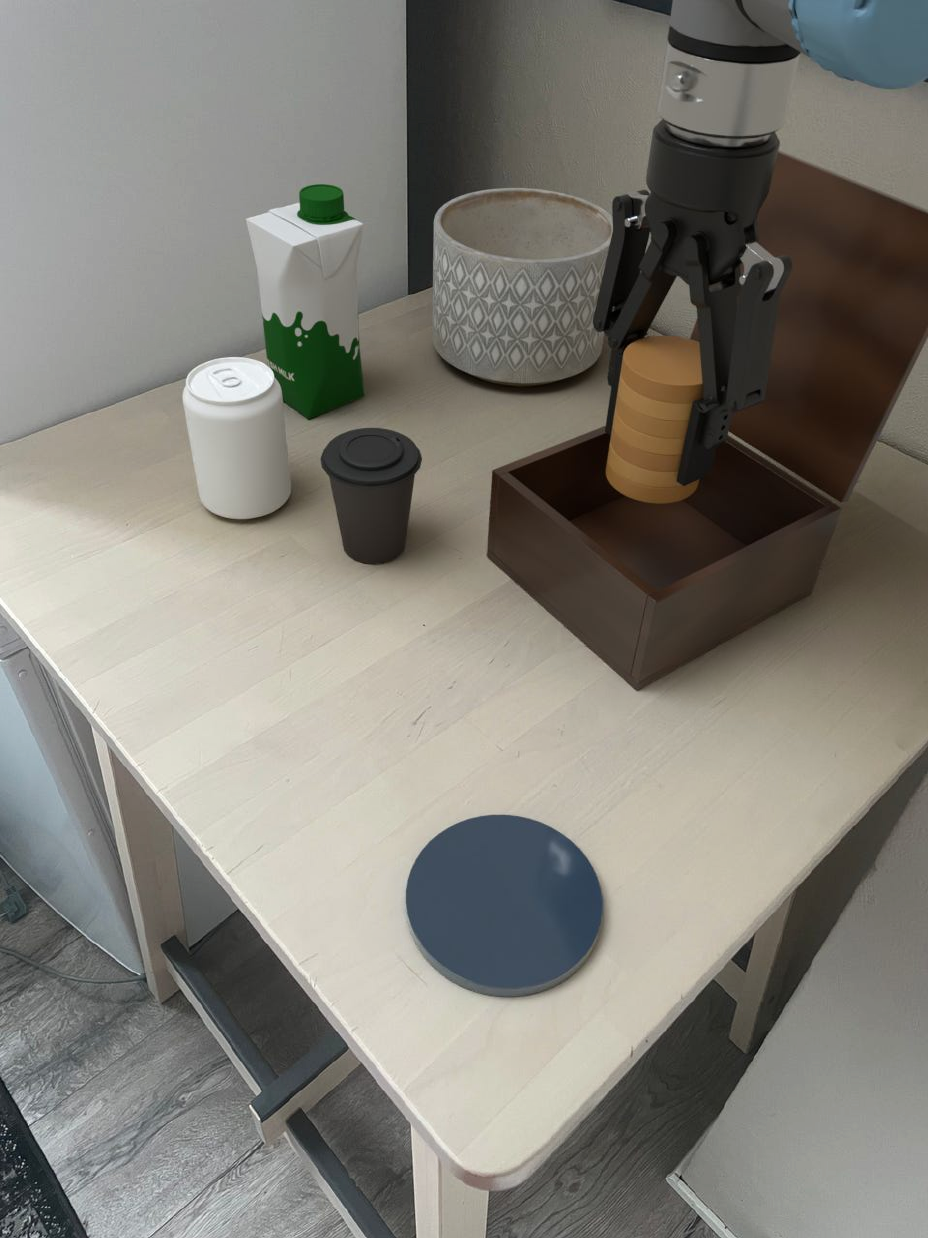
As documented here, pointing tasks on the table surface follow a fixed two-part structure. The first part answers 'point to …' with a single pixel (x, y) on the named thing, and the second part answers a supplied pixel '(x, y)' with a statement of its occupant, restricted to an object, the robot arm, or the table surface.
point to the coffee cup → (372, 490)
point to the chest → (656, 551)
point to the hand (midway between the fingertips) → (656, 452)
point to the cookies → (654, 418)
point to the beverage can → (237, 437)
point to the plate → (503, 905)
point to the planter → (518, 284)
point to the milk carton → (310, 298)
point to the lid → (836, 321)
